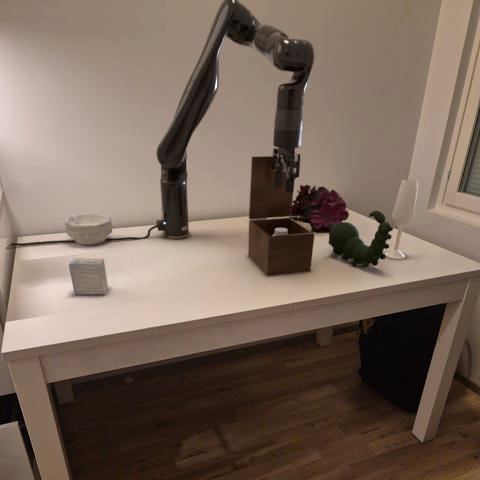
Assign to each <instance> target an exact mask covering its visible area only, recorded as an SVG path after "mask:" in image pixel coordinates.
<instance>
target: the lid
mask: <svg viewBox="0 0 480 480" xmlns="http://www.w3.org/2000/svg"><path fill="white" fill-rule="evenodd" d="M272 160H273V155H261V156H260V155H259V156H251V165H250V187H249V206H248V207H249V209H248V210H249V211H248V219H249V220H250V219H259V218H266V219H275V218H289V217H292V216H291V210H292V205H293V202H292V201H294V200H293V198H294V192H293V193H286V192H285V189H286V179H287V178H286V173H285V172H284V171H283V173H282V174H283V179H282V186H281V187H275V186H274V182H275V173H274V170H272ZM295 172H296V170H295Z"/></svg>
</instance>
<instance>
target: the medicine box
mask: <svg viewBox="0 0 480 480" xmlns="http://www.w3.org/2000/svg"><path fill="white" fill-rule="evenodd" d="M68 268H69V272H70V279H71V284H72V289H73V294H74V295H77V296H78V295H80V296H81V295H105V294H106V293H107V291H108V289H109V282H108V277H107V270H106V264H105V259H104V258H103V257H101V258H97V257H96V258H95V257H94V258H93V257H90V258H89V257H88V258H87V257H83V258H80V257H79V258H78V257H77V258H75V257H74V258H73V259H72V260H71V261H70V262H69V263H68Z"/></svg>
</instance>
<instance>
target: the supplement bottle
mask: <svg viewBox="0 0 480 480" xmlns="http://www.w3.org/2000/svg"><path fill="white" fill-rule="evenodd" d="M277 235H288V230H287V229H286V228H276V229H275V232H274V235H272V236H277Z"/></svg>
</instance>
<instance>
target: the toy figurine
mask: <svg viewBox="0 0 480 480" xmlns="http://www.w3.org/2000/svg"><path fill="white" fill-rule="evenodd" d="M368 218H374V220H375V221H376V222H377V223H378V226H377V230H376V232H375V233H374V238H373V239H372V240H371V242H370V245H369V246H368V245H367V244H365V242H364V241H363V239H362V238H360V232H359V230H358V228H357V227H356V226H355V225H354V224H353V223H350V222H347V221H342V222H341V223H339V224H337V225H336V224H333V223H330V227H331V231H330V232H329V235H328V242H327V243H328V245H330V246H331V247H332V253H333V254H334V255H337V256H340V255H341V256H340V257H341V258H340V259H342V260H343V261H348V260H349V259H352V260H351V262H350V264H351V266H353V267H355V266H358V265H361V266H362V267H363V268H368V267H369V266H370V264H371V265H372V266H377V265H378V264H379V260H383V261H384V260H385V259H386V258H387V256H386V255H385V253H384V250H388V249H389V248H390V244H389V243H387V241H388V240H391V239H392V235H391V234H390V232H392V231H393V230H394V227H393V226H392V225H391V224H390V223H389V222H388V221H386V216H385V215H384V213H383V212H381V211H379V210H373V211H371V212H370V213H369V215H368Z"/></svg>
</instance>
